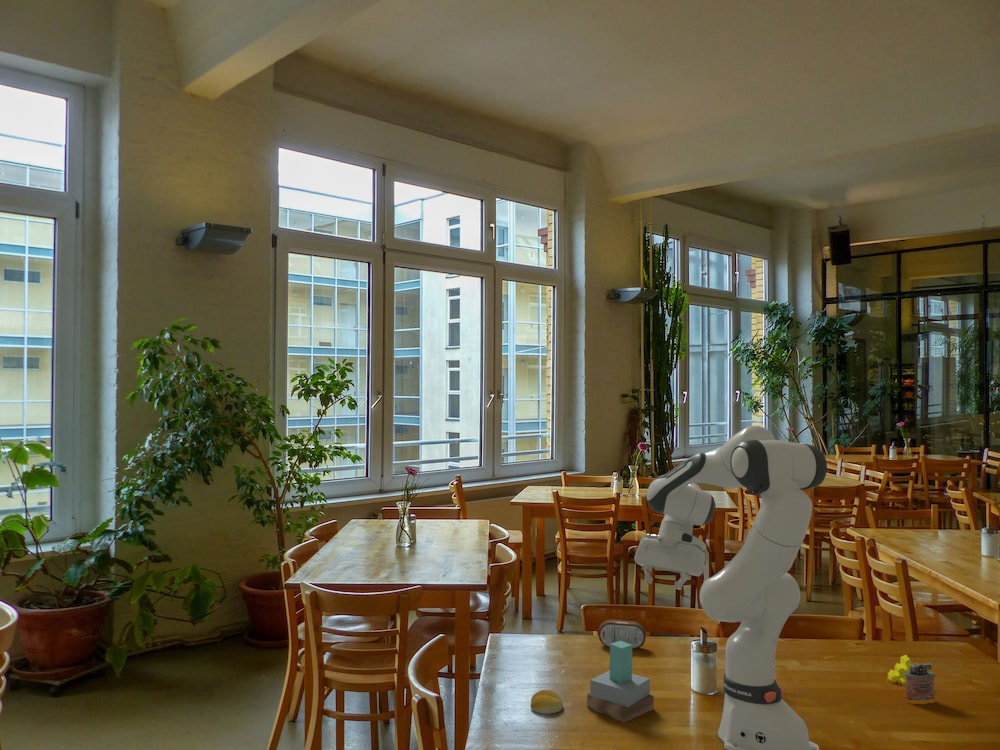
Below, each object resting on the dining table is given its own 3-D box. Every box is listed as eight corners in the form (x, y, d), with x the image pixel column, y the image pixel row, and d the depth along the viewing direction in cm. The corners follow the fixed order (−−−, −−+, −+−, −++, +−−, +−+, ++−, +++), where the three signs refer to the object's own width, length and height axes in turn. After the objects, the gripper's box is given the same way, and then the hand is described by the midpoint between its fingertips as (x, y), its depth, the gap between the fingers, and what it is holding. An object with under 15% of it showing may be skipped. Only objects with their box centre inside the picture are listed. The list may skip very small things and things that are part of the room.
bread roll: (529, 715, 195) (530, 699, 195) (531, 700, 204) (531, 685, 204) (562, 716, 194) (563, 700, 194) (563, 702, 203) (563, 686, 203)
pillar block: (631, 679, 199) (632, 644, 198) (621, 683, 196) (621, 648, 196) (620, 675, 202) (620, 640, 202) (609, 678, 199) (610, 643, 199)
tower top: (649, 694, 200) (649, 678, 200) (627, 707, 191) (628, 691, 191) (613, 683, 207) (613, 668, 207) (590, 695, 198) (590, 680, 198)
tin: (645, 647, 246) (646, 621, 246) (646, 651, 243) (646, 624, 243) (598, 644, 249) (598, 618, 249) (597, 647, 246) (597, 621, 246)
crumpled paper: (882, 678, 222) (882, 651, 222) (908, 677, 223) (908, 650, 223) (896, 686, 216) (896, 658, 216) (922, 685, 217) (922, 657, 217)
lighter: (910, 705, 203) (910, 666, 203) (901, 700, 206) (901, 662, 207) (938, 703, 204) (938, 665, 205) (929, 698, 208) (929, 661, 208)
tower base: (653, 711, 199) (653, 695, 199) (624, 724, 191) (624, 708, 191) (616, 697, 208) (617, 682, 208) (587, 709, 199) (587, 693, 200)
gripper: (637, 529, 222) (624, 576, 217) (701, 538, 208) (689, 589, 203) (648, 536, 226) (636, 582, 221) (711, 546, 212) (700, 595, 207)
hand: (662, 585), depth 212 cm, fingers open, 8 cm apart
